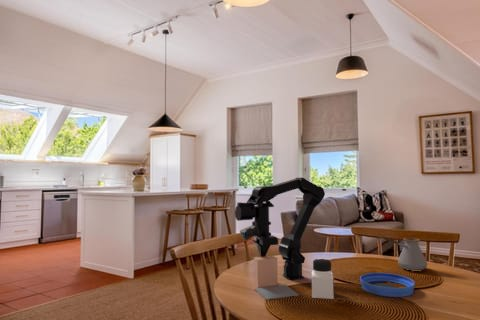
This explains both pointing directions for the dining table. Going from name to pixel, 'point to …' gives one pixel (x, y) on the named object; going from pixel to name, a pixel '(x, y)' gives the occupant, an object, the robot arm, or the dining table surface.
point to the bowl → (387, 288)
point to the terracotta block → (265, 271)
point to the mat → (276, 292)
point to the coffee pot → (410, 254)
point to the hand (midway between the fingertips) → (262, 259)
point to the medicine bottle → (322, 279)
